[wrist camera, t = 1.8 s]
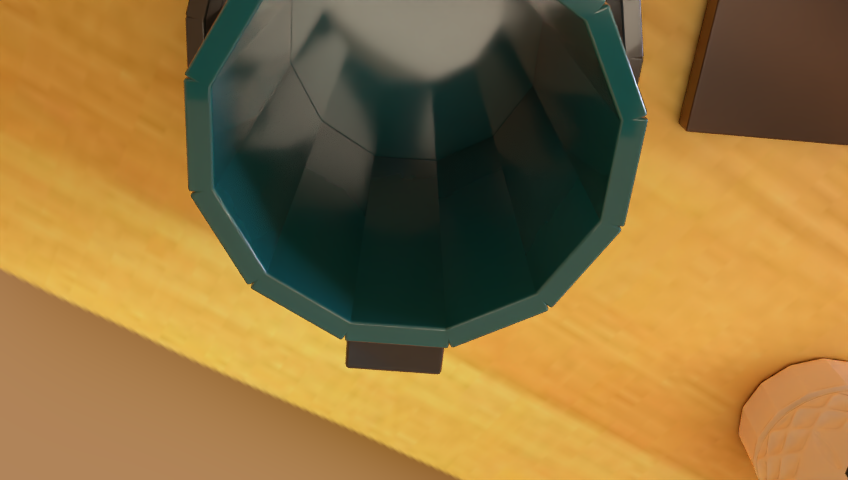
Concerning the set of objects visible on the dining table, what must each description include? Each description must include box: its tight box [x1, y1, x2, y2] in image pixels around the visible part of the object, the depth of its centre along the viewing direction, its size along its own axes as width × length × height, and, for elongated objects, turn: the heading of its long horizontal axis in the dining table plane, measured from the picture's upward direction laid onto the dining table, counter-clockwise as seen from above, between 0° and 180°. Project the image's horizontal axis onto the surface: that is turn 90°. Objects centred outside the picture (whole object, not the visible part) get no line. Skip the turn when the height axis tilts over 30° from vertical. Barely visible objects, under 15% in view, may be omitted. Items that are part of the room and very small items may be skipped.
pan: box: [186, 0, 644, 85], centre depth 27 cm, size 14×14×5 cm
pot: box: [184, 0, 648, 374], centre depth 23 cm, size 13×10×12 cm
